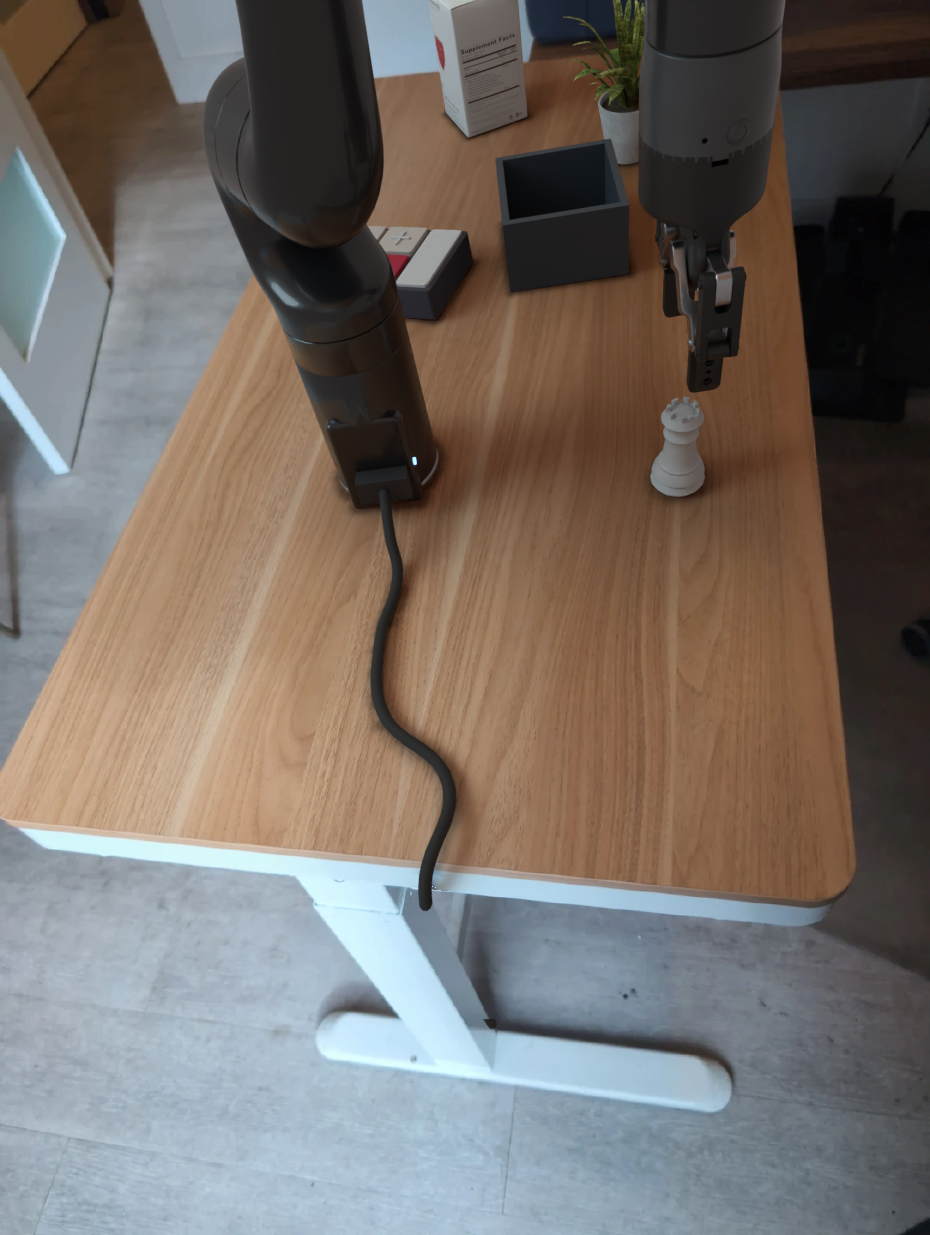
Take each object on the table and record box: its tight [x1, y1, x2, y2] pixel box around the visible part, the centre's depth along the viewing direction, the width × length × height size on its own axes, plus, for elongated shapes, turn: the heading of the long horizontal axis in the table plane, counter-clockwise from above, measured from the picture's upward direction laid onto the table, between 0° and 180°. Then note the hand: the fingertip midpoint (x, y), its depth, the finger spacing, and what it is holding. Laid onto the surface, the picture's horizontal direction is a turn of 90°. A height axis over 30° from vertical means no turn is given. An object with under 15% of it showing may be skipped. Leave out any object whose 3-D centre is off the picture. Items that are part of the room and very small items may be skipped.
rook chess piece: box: [649, 396, 706, 498], centre depth 67 cm, size 4×4×8 cm
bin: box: [494, 138, 630, 293], centre depth 89 cm, size 14×13×8 cm
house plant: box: [564, 0, 645, 165], centre depth 96 cm, size 14×14×16 cm
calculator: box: [367, 225, 474, 321], centre depth 92 cm, size 11×4×15 cm
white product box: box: [427, 0, 528, 138], centre depth 107 cm, size 9×9×15 cm
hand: (689, 349), depth 61 cm, fingers open, 8 cm apart
